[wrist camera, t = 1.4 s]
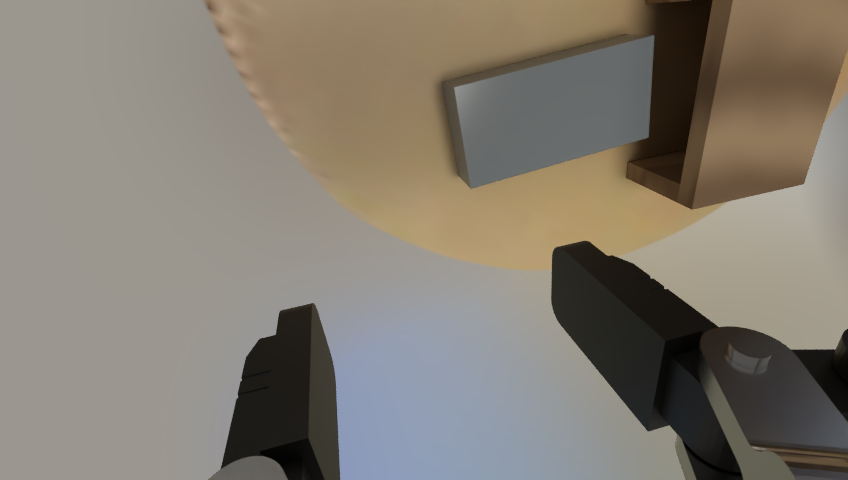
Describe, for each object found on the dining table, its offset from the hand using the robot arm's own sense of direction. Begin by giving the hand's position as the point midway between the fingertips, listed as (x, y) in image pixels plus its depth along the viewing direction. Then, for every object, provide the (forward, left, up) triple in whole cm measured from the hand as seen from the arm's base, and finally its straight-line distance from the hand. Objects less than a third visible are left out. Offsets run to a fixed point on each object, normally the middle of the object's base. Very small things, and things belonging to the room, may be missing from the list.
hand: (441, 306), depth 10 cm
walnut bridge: (0, +22, -18) cm, 28 cm away
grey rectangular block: (0, +11, -18) cm, 21 cm away
